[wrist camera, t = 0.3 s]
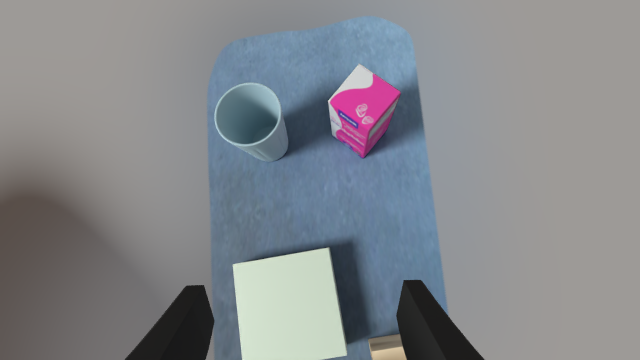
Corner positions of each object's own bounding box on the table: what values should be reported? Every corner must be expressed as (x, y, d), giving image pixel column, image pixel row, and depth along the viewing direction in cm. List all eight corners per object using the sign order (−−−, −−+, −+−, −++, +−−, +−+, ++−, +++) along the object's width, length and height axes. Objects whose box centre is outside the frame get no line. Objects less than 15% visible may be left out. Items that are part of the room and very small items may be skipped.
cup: (269, 109, 44) (247, 69, 34) (307, 140, 43) (295, 108, 33) (234, 146, 44) (201, 117, 33) (271, 179, 42) (248, 159, 32)
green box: (346, 343, 37) (347, 355, 33) (254, 358, 38) (243, 371, 34) (329, 247, 40) (328, 247, 36) (243, 262, 40) (232, 264, 36)
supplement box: (330, 137, 43) (325, 99, 31) (356, 107, 43) (360, 59, 32) (362, 161, 41) (369, 130, 30) (388, 130, 42) (404, 89, 31)
